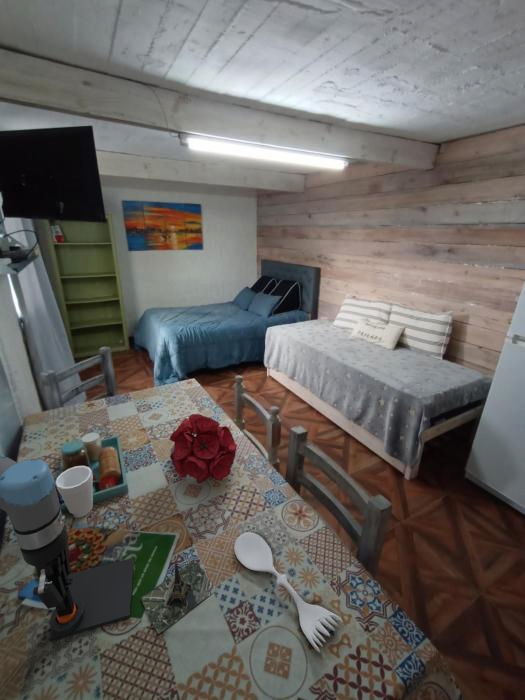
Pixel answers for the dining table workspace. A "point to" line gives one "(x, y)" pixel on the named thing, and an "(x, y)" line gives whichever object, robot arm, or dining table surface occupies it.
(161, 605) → the eiffel tower figurine
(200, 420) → the bouquet
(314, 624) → the spoon
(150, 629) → the dining table surface
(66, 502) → the foam cup
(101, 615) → the scale
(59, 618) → the tare button
